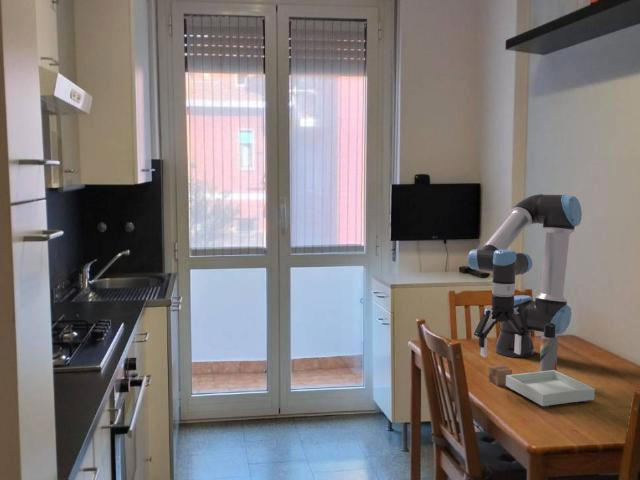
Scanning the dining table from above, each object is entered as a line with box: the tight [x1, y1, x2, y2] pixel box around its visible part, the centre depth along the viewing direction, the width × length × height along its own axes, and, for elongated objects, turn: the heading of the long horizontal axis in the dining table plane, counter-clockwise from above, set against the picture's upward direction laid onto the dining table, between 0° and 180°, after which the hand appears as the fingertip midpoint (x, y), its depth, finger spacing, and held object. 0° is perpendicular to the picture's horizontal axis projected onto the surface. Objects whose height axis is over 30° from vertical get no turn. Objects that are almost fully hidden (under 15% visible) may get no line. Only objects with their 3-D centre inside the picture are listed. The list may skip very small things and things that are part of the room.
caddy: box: [505, 370, 596, 409], centre depth 215 cm, size 20×20×5 cm
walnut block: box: [488, 364, 513, 387], centre depth 228 cm, size 6×6×6 cm
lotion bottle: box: [539, 323, 559, 372], centre depth 232 cm, size 6×6×20 cm
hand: (500, 355), depth 227 cm, fingers open, 13 cm apart
